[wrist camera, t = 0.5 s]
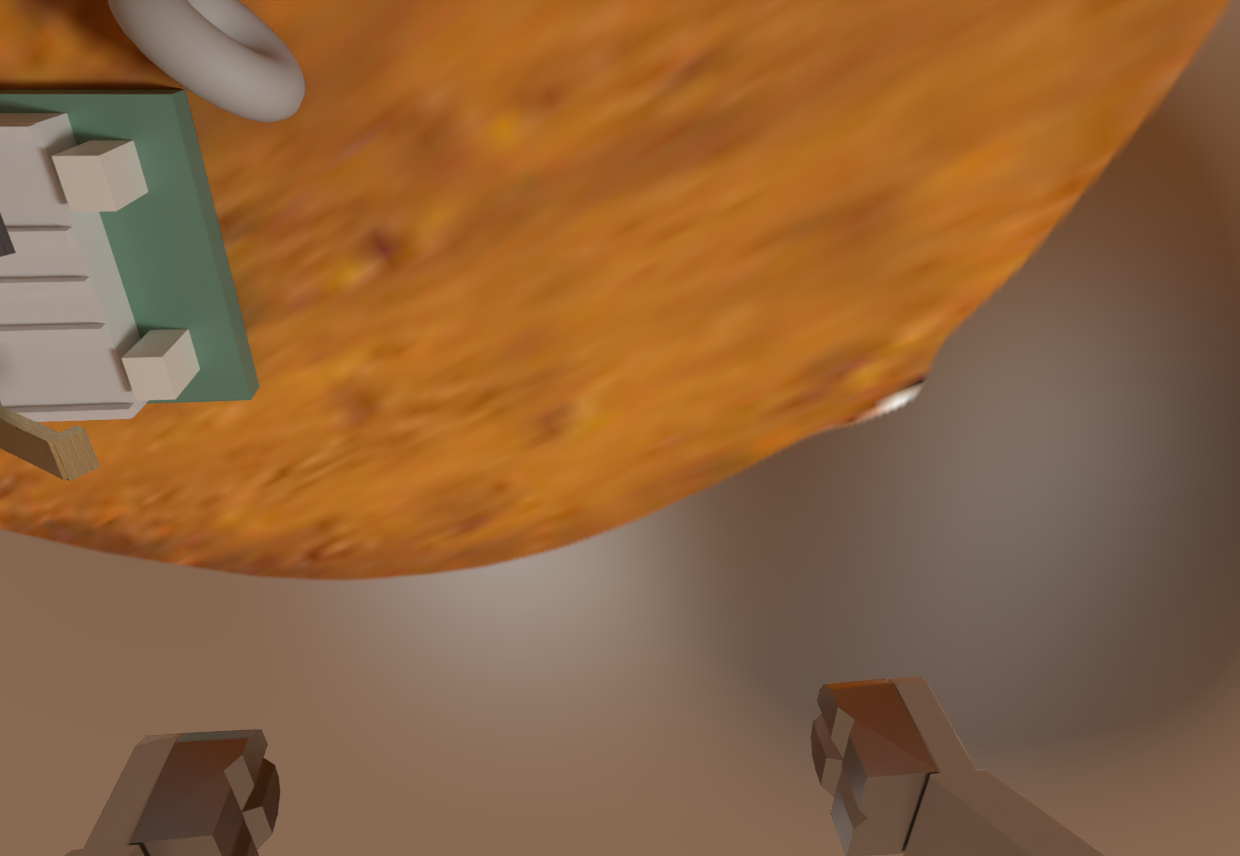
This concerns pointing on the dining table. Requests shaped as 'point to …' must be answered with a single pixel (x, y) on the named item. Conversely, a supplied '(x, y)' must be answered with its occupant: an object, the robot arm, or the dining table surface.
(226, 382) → the board
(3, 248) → the dark grey long bar
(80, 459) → the strap brass
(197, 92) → the donut
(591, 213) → the dining table surface
